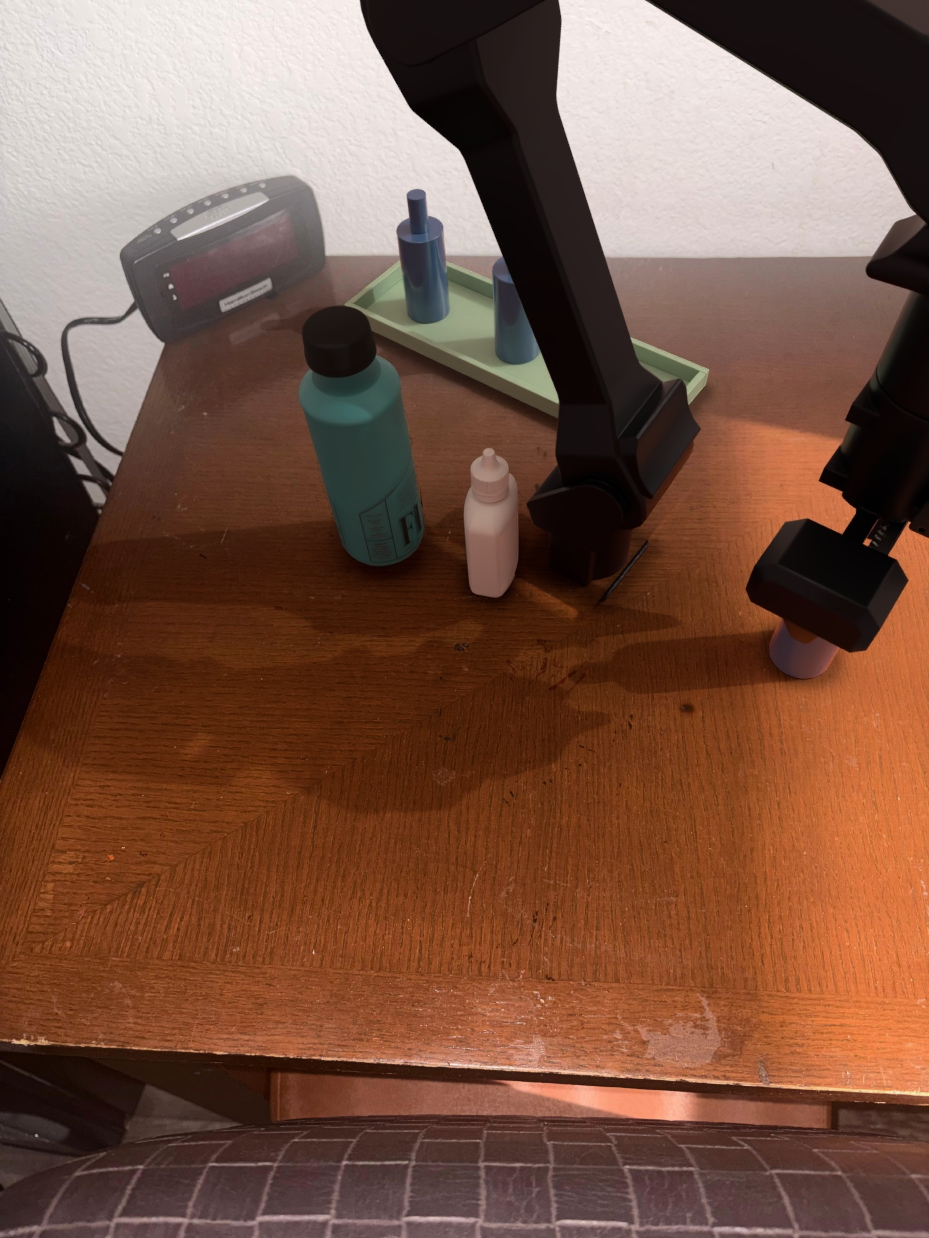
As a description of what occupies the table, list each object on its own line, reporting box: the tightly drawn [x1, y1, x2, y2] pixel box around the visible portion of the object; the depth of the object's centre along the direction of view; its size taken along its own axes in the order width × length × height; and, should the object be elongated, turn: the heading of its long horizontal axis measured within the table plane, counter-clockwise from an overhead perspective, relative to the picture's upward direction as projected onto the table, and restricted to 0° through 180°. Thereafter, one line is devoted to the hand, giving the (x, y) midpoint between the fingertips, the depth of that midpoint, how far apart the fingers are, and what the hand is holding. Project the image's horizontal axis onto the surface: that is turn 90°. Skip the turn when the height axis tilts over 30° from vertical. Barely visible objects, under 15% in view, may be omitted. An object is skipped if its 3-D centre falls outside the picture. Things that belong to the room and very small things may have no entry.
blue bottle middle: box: [491, 256, 540, 364], centre depth 69 cm, size 4×4×11 cm
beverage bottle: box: [297, 305, 426, 567], centre depth 55 cm, size 6×7×20 cm
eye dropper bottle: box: [463, 447, 520, 598], centre depth 57 cm, size 4×6×12 cm
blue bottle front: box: [768, 617, 840, 680], centre depth 52 cm, size 4×4×11 cm
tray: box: [343, 259, 710, 419], centre depth 74 cm, size 10×31×2 cm, turn 53°
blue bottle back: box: [395, 188, 450, 324], centre depth 73 cm, size 4×4×11 cm
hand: (833, 585), depth 50 cm, fingers open, 9 cm apart
